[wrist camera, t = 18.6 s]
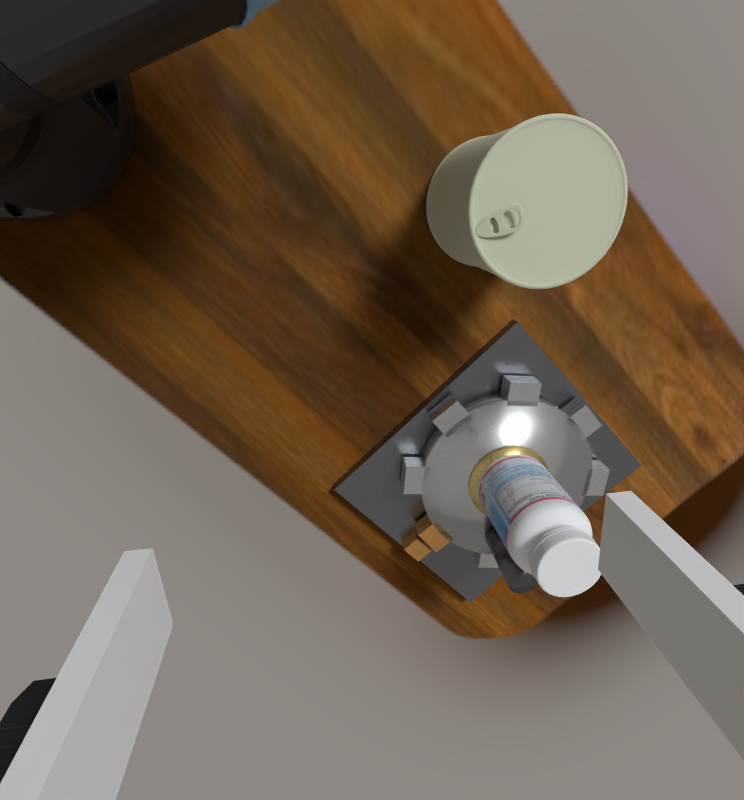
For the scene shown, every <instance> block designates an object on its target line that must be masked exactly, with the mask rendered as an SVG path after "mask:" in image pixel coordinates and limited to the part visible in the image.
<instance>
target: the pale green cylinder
mask: <svg viewBox="0 0 744 800" xmlns="http://www.w3.org/2000/svg"><path fill="white" fill-rule="evenodd" d="M627 192H628V189H627V177H626V171H625V167H624V164H623V161H622V159H621V156H620V154H619V152H618V150H617V148H616V146H615V145H614V143H613V142H612V140H611V139H610V138H609V137H608V136H607V134H606V133H604V132H603V131H602V130H601V129H600V128H599V127H597V126H596V125H595V124H593V123H591V122H589V121H587V120H585V119H583V118H580V117H577V116H573V115H568V114H547V115H541V116H537V117H534V118H531V119H529V120H526V121H524V122H522V123H520V124H518V125H516V126H515V127H513V128H510V129H507V130H505V131H502V132H499V133H496V134H493V135H491V136H482V137H477V138H474V139H471V140H468V141H466V142H464V143H462V144H461V145H459V146H457V147H456V148H455V149H453V150H452V151H451V152H450V153H449V154H448V155H447V156H446V157H445V158H444V159H443V160H442V162H441V163H440V164H439V166H438V167H437V169H436V171H435V173H434V175H433V177H432V179H431V182H430V185H429V188H428V193H427V200H426V213H427V220H428V224H429V228H430V230H431V233H432V235H433V237H434V239H435V241H436V242H437V244H438V245H439V246H440V248H441V249H442V250H443V251H444V252H445V253H446V254H448V255H449V256H450V257H451V258H453V259H455V260H456V261H458V262H461V263H463V264H466V265H470V266H476V267H479V268H481V269H483V270H486V271H488V272H490V273H492V274H494V275H496V276H498V277H499V278H501V279H502V280H504V281H506V282H508V283H510V284H513V285H515V286H519V287H523V288H528V289H547V288H553V287H557V286H560V285H563V284H566V283H568V282H571V281H573V280H575V279H577V278H578V277H580V276H582V275H583V274H584V273H586V272H587V271H589V270H590V269H591V268H592V267H593V266H594V265H595V264H596V263H598V262H599V260H600V259H601V258H602V257H603V256H604V255H605V253H606V252H607V251H608V249H609V248H610V246H611V245H612V243H613V242H614V240H615V238H616V236H617V234H618V232H619V229H620V227H621V224H622V221H623V218H624V215H625V210H626V205H627Z"/></svg>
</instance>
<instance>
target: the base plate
mask: <svg viewBox="0 0 744 800" xmlns="http://www.w3.org/2000/svg"><path fill="white" fill-rule="evenodd" d="M503 375H513V376H534V377H535V378H536V379H537V380H538V381H540V382H541V383H542V386H541V391H540V396H539V397H540V398H543V399H545V400H547V401H549V402H551V403H553V404H554V405H556V406H557V407H558V408H560V409H561V408H563V407H564V406H565V405H566V404H568V403H569V402H570V401H571V400H573V399H574V398H575V397H577V398H578V399H579V400H581V401H582V402H583V403H585V404H586V405H587V407H588V408H589V409H590V410H591V412H592V413H593V414H594V416H595V417H596V418H597V420H598V421H599V422H600V424H601V425H602V426H601V427H600V428H598V429H597V430H596V431H594V432H593V433H592V434H591V435H589V436H588V437H587V438H586V439H587V441H588V443H589V446H590V450H591V455H592V460H600V461H601V462H602V463H603V464H604V465H605V466H606V467H607V468H608V469H609V470H610V471H609V475H608V478H607V482H606V486H605V490H604V494H603V495H605V494H606V493H607V492H608V491H610V490H611V489H612V488H613V487H615V486H616V485H617V484H618V483H620V482H621V481H622V480H623V479H624V478H626V477H627V476H628V475H629V474H631V473H632V472H633V471H634V470H636V469H637V468H638V467H639V466H641V464H640V463H639V462H638V461H637V460H636V458H635V457H634V456H633V455H632V454H631V453H630V451H629V450H628V449H627V448H626V447H625V446H624V444H623V443H622V442H621V441H620V440H619V439H618V438H617V436H616V435H615V434H614V433H613V432H612V431H611V429H610V428H609V427H608V426H607V425H606V424H605V423H604V421H603V420H602V419H601V418H600V417H599V416H598V414H597V413H596V412H595V411H594V410H593V409H592V407H591V406H590V405H589V404H588V403H587V402H586V401H585V399H584V398H583V397H582V396H581V395H580V394H579V392H578V391H577V390H576V389H575V388H574V387H573V386H572V384H571V383H570V382H569V381H568V380H567V379H566V377H565V376H564V375H563V374H562V373H561V372H560V370H559V369H558V368H557V367H556V366H555V365H554V364H553V362H552V361H551V360H550V359H549V358H548V357H547V355H546V354H545V353H544V352H543V351H542V350H541V349H540V347H539V346H538V345H537V344H536V343H535V342H534V340H533V339H532V338H531V337H530V336H529V335H528V333H527V332H526V331H525V330H524V329H523V328H522V327H521V325H520V324H519V323H518V322H517V321H515V320H512V321H511V322H510V323H509V324H508V325H507V326H506V327H504V328H503V329H502V330H501V331H500V332H499V333H498V334H497V335H496V336H495V337H494V338H492V339H491V340H490V341H489V342H488V343H487V344H486V345H485V346H484V347H483V348H482V349H480V350H479V351H478V352H477V353H476V354H475V355H474V356H473V357H472V358H471V359H470V360H469V361H467V362H466V363H465V364H464V365H463V366H462V367H461V368H460V369H459V370H458V371H457V372H455V373H454V374H453V375H452V376H451V377H450V378H449V379H448V380H447V381H446V382H445V383H443V384H442V385H441V386H440V387H439V388H438V389H437V390H436V391H435V392H434V393H433V394H431V395H430V396H429V397H428V398H427V399H426V400H425V401H424V402H423V403H422V404H421V405H420V406H418V407H417V408H416V409H415V410H414V411H413V412H412V413H411V414H410V415H409V416H408V417H406V418H405V419H404V420H403V421H402V422H401V423H400V424H399V425H398V426H397V427H396V428H394V429H393V430H392V431H391V432H390V433H389V434H388V435H387V436H386V437H385V438H384V439H382V440H381V441H380V442H379V443H378V444H377V445H376V446H375V447H374V448H373V449H372V450H371V451H369V452H368V453H367V454H366V455H365V456H364V457H363V458H362V459H361V460H360V461H359V462H357V463H356V464H355V465H354V466H353V467H352V468H351V469H350V470H349V471H348V472H347V473H345V474H344V475H343V476H342V477H341V478H340V479H339V480H338V481H337V482H336V483H335V484H334V490H335V491H336V492H337V493H338V494H340V495H341V496H342V497H343V498H345V499H346V500H347V501H348V502H349V503H351V504H352V505H353V506H354V507H355V508H357V509H358V510H359V511H360V512H361V513H363V514H364V515H365V516H366V517H368V518H369V519H370V520H371V521H372V522H374V523H375V524H376V525H377V526H378V527H380V528H381V529H382V530H383V531H385V532H386V533H387V534H388V535H389V536H391V537H392V538H393V539H394V540H395V541H397V542H398V543H399V544H400V545H401V546H403V548H404V550H405V551H406V552H407V553H408V554H409V555H411V556H412V557H413V558H414V559H416V560H417V561H418V562H419V561H421V562H422V563H423V564H425V565H426V566H427V567H428V568H429V569H431V570H432V571H433V572H434V573H435V574H437V575H438V576H439V577H440V578H441V579H443V580H444V581H445V582H446V583H448V584H449V585H450V586H451V587H452V588H454V589H455V590H456V591H457V592H458V593H460V594H461V595H462V596H463V597H464V598H466V599H467V600H468V601H469V602H472V601H473V600H474V599H476V598H477V597H478V596H479V595H480V594H482V593H483V592H484V591H485V590H487V589H488V588H489V587H490V586H492V585H493V584H494V583H495V582H497V581H498V580H499V579H500V578H502V577H503V574H502V572H501V570H500V568H478V565H477V563H476V561H475V559H474V556H473V551H470V550H466V549H464V548H461V547H459V546H457V545H455V544H454V543H452V542H450V543H448V544H447V545H446V546H444V547H443V548H442V549H440V550H439V551H438V552H435V551H434V550H433V549H432V548H431V547H430V546H429V545H428V544H427V543H426V542H425V541H424V540H423V539H422V538H421V537H420V536H419V535H418V532H417V529H416V526H415V523H416V522H417V521H418V520H420V519H421V518H422V517H424V516H425V515H426V514H427V512H426V510H425V507H424V504H423V502H422V499H421V495H420V494H403V491H402V487H401V484H400V481H401V472H402V462H403V457H422V454H423V451H424V449H425V447H426V445H427V443H428V441H429V439H430V438H431V436H432V435H433V433H434V432H435V431H436V429H437V428H438V427H437V426H436V425H435V424H434V423H433V422H432V420H431V418H430V416H429V414H428V412H429V411H431V410H432V409H433V408H434V407H435V406H437V405H438V404H439V403H440V402H442V401H443V400H444V399H445V398H446V397H448V396H449V395H450V394H451V393H452V394H453V395H454V396H455V397H456V398H457V399H458V401H459V402H460V403H461V404H462V405H463V406H465V405H467V404H469V403H470V402H473V401H475V400H478V399H480V398H483V397H486V396H490V395H494V394H500V391H501V385H502V379H503ZM601 497H602V496H585V498H584V500H583V502H582V504H581V506H580V507H579V508H580V509H581V510H582V511H583V512H584V511H585V510H586V509H587V508H588V507H590V506H591V505H592V504H593V503H595V502H596V501H597V500H598V499H600V498H601Z"/></svg>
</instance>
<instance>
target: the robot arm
mask: <svg viewBox="0 0 744 800" xmlns="http://www.w3.org/2000/svg"><path fill="white" fill-rule="evenodd" d="M278 1H280V0H0V218H6V219H13V220H40V219H52V218H59V217H63V216H67V215H71V214H74V213H76V212H79V211H81V210H83V209H85V208H87V207H89V206H90V205H92V204H94V203H95V202H96V201H98V200H99V199H100V198H102V197H103V196H104V195H105V194H106V193H107V192H108V191H109V190H110V189H111V188H112V186H113V185H114V184H115V183H116V181H117V180H118V178H119V177H120V175H121V173H122V172H123V170H124V168H125V166H126V163H127V161H128V158H129V155H130V152H131V149H132V144H133V139H134V133H135V103H134V96H133V91H132V86H131V82H130V78H129V75H128V74H129V73H131V72H133V71H135V70H138V69H140V68H142V67H144V66H146V65H148V64H150V63H153V62H155V61H157V60H159V59H161V58H163V57H165V56H168V55H170V54H172V53H174V52H176V51H178V50H180V49H183V48H185V47H187V46H189V45H191V44H193V43H196V42H198V41H200V40H202V39H204V38H206V37H208V36H211V35H213V34H215V33H217V32H219V31H221V30H223V29H226V28H228V27H231V28H233V29H239V28H242V27H245V26H246V25H247V24H248V22H250V21H251V20H253V19H254V17H255V16H256V14H257V13H258V12H260V11H262V10H263V9H265V8H267V7H269V6H271V5H273V4H275V3H276V2H278ZM598 570H599V571H600V573H601V574H602V575H603V577H604V578H605V579H606V581H607V582H608V583H609V584H610V586H611V587H612V588H613V590H614V591H615V592H616V594H617V595H618V596H619V598H620V599H621V600H622V602H623V603H624V604H625V605H626V607H627V608H628V609H629V611H630V612H631V613H632V615H633V616H634V617H635V619H636V620H637V621H638V623H639V624H640V625H641V626H642V628H643V629H644V630H645V632H646V633H647V634H648V636H649V637H650V638H651V640H652V641H653V642H654V644H655V645H656V646H657V647H658V649H659V650H660V651H661V653H662V654H663V655H664V657H665V658H666V659H667V661H668V662H669V663H670V665H671V666H672V667H673V668H674V670H675V671H676V672H677V674H678V675H679V676H680V678H681V679H682V680H683V681H684V683H685V684H686V685H687V687H688V688H689V689H690V691H691V692H692V693H693V694H694V696H695V697H696V699H697V700H698V701H699V703H700V704H701V705H702V706H703V708H704V709H705V710H706V712H707V713H708V714H709V715H710V717H711V718H712V720H713V721H714V722H715V723H716V725H717V726H718V727H719V729H720V730H721V731H722V733H723V734H724V735H725V737H726V738H727V739H728V741H729V742H730V743H731V744H732V746H733V747H734V748H735V750H736V751H737V752H738V754H739V755H740V756H741V758H742V759H743V760H744V584H740V585H732V584H730V582H729V581H728V580H727V579H725V578H724V577H723V576H722V575H721V574H720V573H719V572H718V571H717V570H716V569H715V568H714V567H712V566H711V565H710V564H709V563H708V562H707V561H706V560H705V559H704V558H703V557H702V556H701V555H700V554H698V553H697V552H696V551H695V550H694V549H693V548H692V547H691V546H690V545H689V544H688V543H686V541H684V540H683V539H682V538H681V537H680V536H679V535H678V534H677V533H676V532H675V531H674V530H672V529H671V528H670V527H669V526H668V525H667V524H666V523H665V522H664V521H663V520H662V519H661V518H660V517H659V516H657V515H656V514H655V513H654V512H653V511H652V510H651V509H650V508H649V507H648V506H647V505H646V504H645V503H643V502H642V501H641V500H640V499H639V498H638V497H637V496H636V495H635V494H634V493H633V492H632V491H626V492H618V493H609V494H606V500H605V509H604V518H603V527H602V536H601V545H600V555H599V564H598ZM172 627H173V622H172V618H171V614H170V611H169V607H168V603H167V599H166V596H165V592H164V588H163V585H162V581H161V578H160V574H159V570H158V566H157V562H156V559H155V555H154V552H153V548H151V549H142V550H133V551H125V552H124V553H123V555H122V557H121V559H120V561H119V562H118V564H117V566H116V568H115V570H114V572H113V574H112V576H111V578H110V579H109V581H108V583H107V585H106V587H105V589H104V591H103V592H102V594H101V596H100V598H99V600H98V602H97V604H96V605H95V607H94V609H93V611H92V613H91V615H90V617H89V619H88V620H87V622H86V624H85V626H84V628H83V630H82V632H81V633H80V635H79V637H78V639H77V641H76V643H75V645H74V647H73V648H72V650H71V652H70V654H69V656H68V658H67V660H66V662H65V663H64V665H63V667H62V669H61V671H60V673H59V675H58V677H57V678H52V679H45V680H38V681H33V682H32V683H31V684H30V685H29V686H28V687H27V688H26V689H25V690H24V691H23V692H22V693H21V694H20V695H19V696H18V697H17V698H16V699H15V700H14V701H13V702H12V703H11V705H10V706H9V708H8V710H7V712H6V713H5V715H4V717H3V718H2V720H1V722H0V800H116V797H117V794H118V791H119V788H120V785H121V782H122V779H123V776H124V773H125V770H126V767H127V763H128V761H129V758H130V755H131V751H132V748H133V745H134V742H135V739H136V736H137V733H138V730H139V727H140V724H141V721H142V718H143V715H144V712H145V709H146V706H147V703H148V700H149V697H150V693H151V691H152V688H153V685H154V682H155V679H156V676H157V672H158V669H159V666H160V663H161V660H162V657H163V654H164V651H165V648H166V645H167V642H168V639H169V636H170V633H171V630H172Z"/></svg>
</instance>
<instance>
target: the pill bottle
mask: <svg viewBox="0 0 744 800" xmlns="http://www.w3.org/2000/svg"><path fill="white" fill-rule="evenodd" d="M478 497H479V500H480V502H481V504H482V506H483V508H484V510H485V512H486V513H487V515H488V517H489V519H490V520H491V522H492V524H493V526H494V528H495V529H496V531H497V533H498V535H499V536H500V538H501V540H502V542H503V544H504V545H505V547H506V549H507V551H508V552H509V554H510V556H511V557H512V559H513V560H514V562H515V563H516V564H517V565H518V566H519V567H520V568H521V569H522V570H524V571H525V572H527V573H529V574H532V575H533V577H534V578H535V579H536V581H537V582H538V584H539V585H540V587H541V588H542V589H543V590H544V591H545V592H547V593H549V594H551V595H553V596H557V597H569V596H574V595H577V594H580V593H582V592H584V591H586V590H587V589H589V588H590V587H591V586H593V585H594V584H595V582H596V581H597V580H598V579H599V577H600V575H601V573H600V571H599V570H598V564H599V555H600V548H599V546H598V545H597V544H596V543H595V541H594V539H593V538H592V528H591V524H590V522H589V520H588V518H587V517H586V515H585V514H584V513H583V511H582V510H581V509H580V508H579V506H578V505H577V504H576V503H575V502H574V501H573V500H572V498H571V497H570V496H569V495H568V494H567V493H566V491H565V490H564V489H563V488H562V487H561V486H560V484H559V483H558V482H557V481H556V480H555V479H554V477H553V476H552V475H551V474H550V473H549V471H548V470H547V469H546V468H545V467H544V466H543V465H542V464H541V463H540V462H539V461H538V460H536V459H535V458H533V457H530V456H526V455H518V454H515V455H507V456H504V457H501V458H499V459H497V460H495V461H493V462H492V463H491V464H490V465H489V466H488V467H487V468H486V469H485V470H484V472H483V473H482V475H481V477H480V480H479V483H478Z"/></svg>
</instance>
